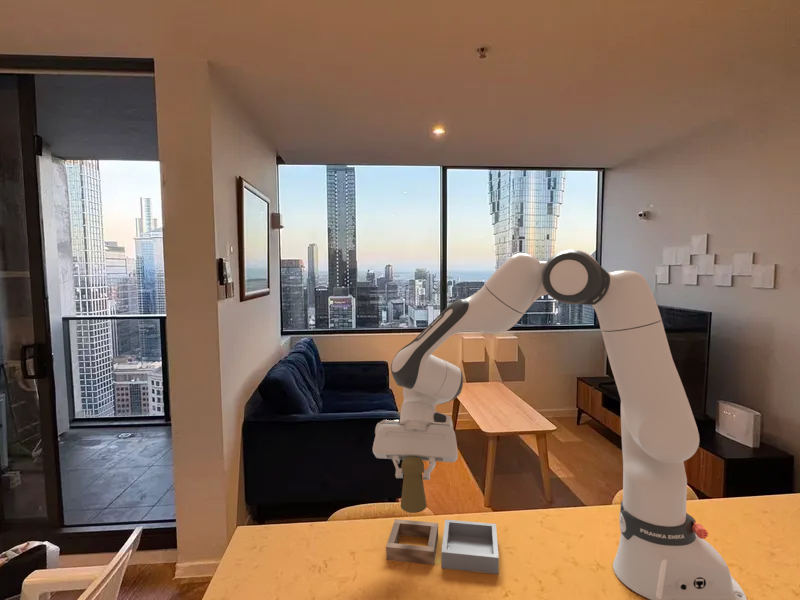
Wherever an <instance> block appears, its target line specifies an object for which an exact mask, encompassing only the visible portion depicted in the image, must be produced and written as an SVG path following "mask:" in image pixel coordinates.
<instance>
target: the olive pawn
mask: <svg viewBox="0 0 800 600" xmlns="http://www.w3.org/2000/svg"><path fill="white" fill-rule="evenodd" d="M400 468H401V469H402V472H403V478H402V479H403V481H402V489H401V490H402V491H401V496H400V497H401V499H400V509H401V510H403V511H404V512H406V513H409V514H412V513H414V514H416V513H421V512H423V511H425V509H426V508H427V507H428V506H427V500H426V494H425V493H426V492H425V486H424V480H423V470H425V463H424V461H422V460H421V459H420V458H418V457H407V458H405V459H404V460H402V461H401V466H400Z"/></svg>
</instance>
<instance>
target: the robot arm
mask: <svg viewBox="0 0 800 600" xmlns="http://www.w3.org/2000/svg"><path fill="white" fill-rule="evenodd" d="M546 295H548V296H549V297H551V298H552V299H553V300H555V301H557V302H560V303H563V304H569V305H585V306H586V305H587V306H592V307H593V309H594V312H595V314H596V317H597V319H598V323H599V328H600V332H601V335H602V339H603V343H604V346H605V351H606V354H607V358H608V362H609V365H610V368H611V371H612V375H613V377H614V381H615V385H616V387H617V392H618V395H619V398H620V430H621V431H620V432H621V453H622V454H621V455H622V469H623V470H622V471H623V473H622V474H623V477H622V501H620V506H619V508H620V511H619V519H618V520H619V529H620V538H619V544H618V548H617V551H616V555H615V557H614V560H613V562H612V568H613V572H614V573H615V575H616V577H617V578H618V580H619V581H620V582H622V584H624V585H625V586H626V587H627V588H629V589H631V590H632V592H635V593H636V594H638V595H640V596H642V597H644V598H646V599H648V600H748V598H747V596H746V593H745V591H744V590H743V589H742V587H741V586H740V584H739V583H738V582H737V581H736V578H735V579H734V577H733V576H732V575H731V572H730V569H729V566H728V565H727V562H726V561H725V559H724V558H723V556H722V555H721V554H720V552H718V551H717V550H716V548H715V547H714V546H712V544H710V543H709V542H708V541H707V540H705V539H707V537H709V533H708V531H707V529H705V528H704V525H702V524H700V523H697V522H696V519H695V518H694V517H693V515H690V514H689V513H688V512H687V498H688V497H687V494H688V493H687V492H688V478H687V474H686V468H685V461H687V460H689V459H691V458H692V457H693V456H694V455H695V454H696V452H697V450H698V448H699V447H700V433H699V430H698V426H697V423H696V420H695V417H694V414H693V411H692V408H691V405H690V402H689V398H688V397H687V394H686V393H687V392H686V391H685V387H684V385H683V383H682V379H681V377H680V375H679V372H678V369H677V367H676V364H675V362H674V359H673V355H672V353H671V349H670V345H669V342H668V337H667V334H666V331H665V326H664V323H663V318H662V316H661V312H660V309H659V307H658V304H657V300H656V299H655V297H654V294H653V292H652V290H651V288H650V285H649V284H648V281H647V280H646V279H645V277H644V276H643V275H642V274H641V273H639V272H637V271H633V270H627V269H626V270H615V271H607V270H606V269H605V268H603V266H601V265H600V264H599V263H598V262H597V260H596V258H595V257H593V256H592V255H591V254H589V253H588V252H586V251H583V250H580V249H566V250H562V251H559V252H557V253H555V254H553V255H552V256H551V257H550V258H549V259H548V260H547V261H542V260H540V259H538V258H537V257H535V256H533V255H531V254H528V253H524V252H518V253H514V254H513V255H511V256H510V257H509V258H507V260H505V261H504V262H503V263H502V264H501V265H500V266H499V267H498V268H497V269H496V270H495V271H494V272H493V273H492V274H491V276H490V277H489V278H488V279H487V281H486V282H485V283H484V284H483V286H482V287H481V288H480V289H478V291H476V292H474V293H473V294H472V295H470V296H468V297H466V298H463V299H461V298H460V299H457V300H455V301H454V302H452V303H451V304H449V306H447V307H446V308H445V309H443V311H442V312H441V313H440V314H439V315H437V317H436V318H435V319H433V321H431V323H429V324H428V325H427V326H426V327H425V328H424V329H423V330H422V331H421V333H419V334H418V335H417V336H416V337H414V339H413V340H412V341H410V342H409V343H408V344H406V345H405V346H403V347H402V348H401V349H399V350H398V352H397V353H396V354H395V356H394V357H393V359H392V361H391V364H390V372H391V375H392V378H393V380H394V382H395V383H396V385H397V386H399V387H402V388H403V389H402V397H403V401H402V404H401V407H400V417H399V419H393V420H391V419H390V420H389V419H388V420H387V419H383V420H381V421H379V422H377V424H376V426H375V429H374V435H375V437H374V439H373V440H374V441H373V442H372V443H373V445H372V453H373V455H374V457H375V458H376V459H384V460H385V459H388V460H391V461H392V462H393V465H394V467H395V468H394V469H395V474H394V475H395V478H396V479H403V478H404V473H403V472H402V469H401V467H399V464H400V461H401V460H402V461H403V460H404V459H405V458H407V457H418V458H420V459H421V460H422V461H423V462H426V461H427V462H428V464H429V465H428V466H427V468H426V469H424V470H423V472H422V478H423V481H425V480H427V481H430V480H431V473H432V472H433V470H434V469H435V467H436V462H440V463H441V462H442V463H456V462H457V460H458V458H459V457H458V453H459V452H458V444H457V436H456V432H455V430H454V425H453V424H454V422H453V419H452V417H451V415H449V414H445V413H442V412H439V411H437V410H436V406H437V405H443V404H447V403H449V402H451V401H453V400H455V399H456V398H458V397H459V396H460V395H461V393H462V389H463V385H464V376H463V372H462V370H461V368H460V367H459V366H457V365H455V364H453V363H451V362H449V361H447V360H445V359H443V358H439V357H437V356H436V355H433V354H434V352H435V351H436V350H438V349H439V347H440V346H441V345H443V344H444V343H445V342H446V341H447V340H448V339H449V338H450V337H452V336H453V335H455V334H458V333H466V332H471V333H472V332H473V333H484V334H494V335H495V334H500V333H504V332H507V331H508V330H510V329H511V328H513V327H514V326H516V324H517V323H518V322H519V321H520V319H522V317H523V316H524V315H525V313H526V312H527V311H528V309H530V308H531V306H532V305H533V304H534V303H535V302H536V301H537V300H538V299H539V298H540V297H542V296H546Z"/></svg>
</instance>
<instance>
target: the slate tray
mask: <svg viewBox="0 0 800 600" xmlns="http://www.w3.org/2000/svg"><path fill="white" fill-rule="evenodd" d="M498 544H499V543H498V535H497V524H496V523H489V522H478V521H468V520H456V519H445V521H444V527H443V536H442V543H441V552H440V553H441V554H440V555H441V556H440V557H441V558H440V559H441V563H440V564H441V569H444V570H445V569H447V570H456V571H457V570H458V571H466V572H476V573H482V574H483V573H484V574H493V575H499V574H500V573H499V572H500V571H499V570H500V566H499V565H500V561H499V560H500V558H499V545H498Z"/></svg>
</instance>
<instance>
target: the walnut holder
mask: <svg viewBox="0 0 800 600" xmlns="http://www.w3.org/2000/svg"><path fill="white" fill-rule="evenodd" d="M401 536H405V537H406V536H407V537H415V538H417V537H418V538H427V539H428V543H427V546H425V545H415V544H405V543H404V544H403V543H399V540H400V537H401ZM438 539H439V522H434V521H433V522H432V521H421V520H408V519H398V518H397V519H396V518H394V522H393V524H392V527H391V531H390V533H389V537H388V540H387V543H386V545H385V556H386V557H385V559H386V560H387V561H393V562H394V561H395V562H402V563H403V562H404V563H412V564H422V565H430V566H431V565H432V566H434V565H435V560H436V553H437V545H438Z"/></svg>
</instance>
